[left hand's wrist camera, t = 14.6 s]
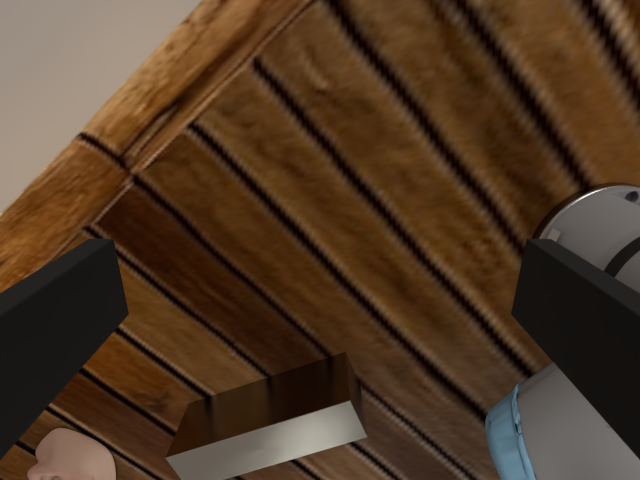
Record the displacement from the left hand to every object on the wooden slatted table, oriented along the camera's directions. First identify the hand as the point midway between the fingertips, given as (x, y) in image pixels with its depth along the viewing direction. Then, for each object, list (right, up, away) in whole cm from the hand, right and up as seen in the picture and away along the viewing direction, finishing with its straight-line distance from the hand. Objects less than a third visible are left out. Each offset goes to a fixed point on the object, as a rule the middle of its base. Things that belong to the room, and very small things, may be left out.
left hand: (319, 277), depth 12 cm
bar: (-6, -19, +38) cm, 43 cm away
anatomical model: (-35, -31, +42) cm, 63 cm away
